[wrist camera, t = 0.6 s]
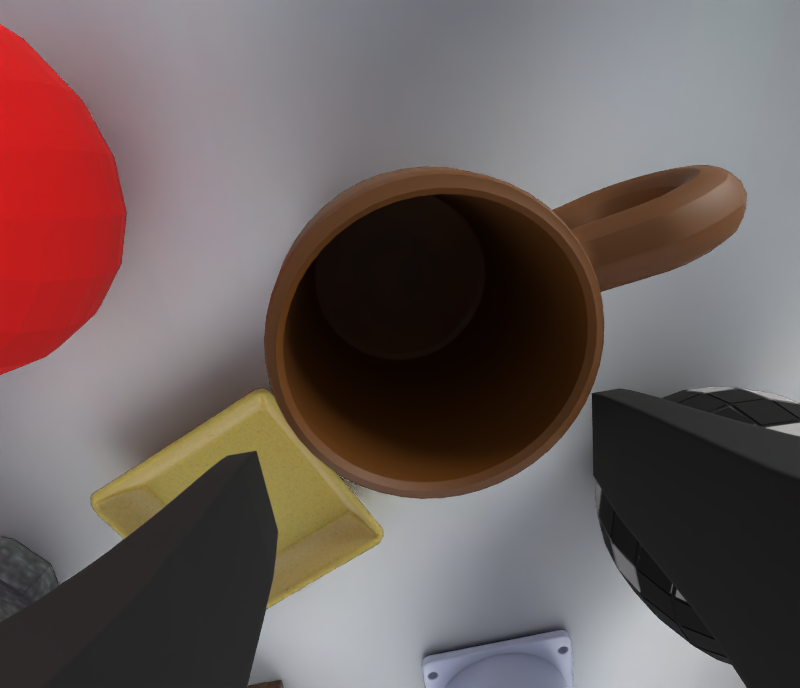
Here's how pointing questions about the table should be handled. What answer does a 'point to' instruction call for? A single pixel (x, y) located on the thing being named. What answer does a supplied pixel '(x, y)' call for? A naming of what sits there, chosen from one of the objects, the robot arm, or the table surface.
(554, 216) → the mug
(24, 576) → the mortar and pestle
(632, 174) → the table surface
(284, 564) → the saucer
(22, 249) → the tomato
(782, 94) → the table surface
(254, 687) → the rack
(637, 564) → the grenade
